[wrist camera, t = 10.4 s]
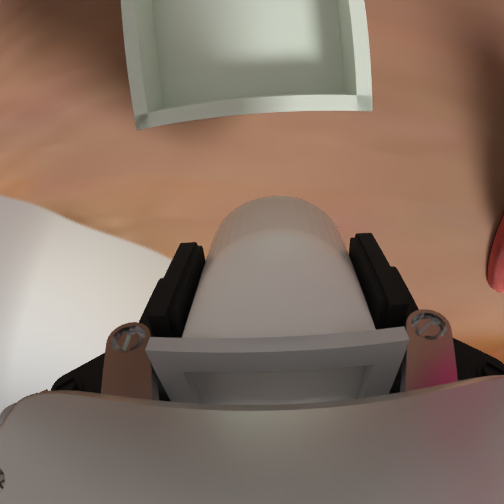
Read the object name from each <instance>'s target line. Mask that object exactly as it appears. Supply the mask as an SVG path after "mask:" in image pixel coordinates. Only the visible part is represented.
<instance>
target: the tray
mask: <svg viewBox="0 0 504 504" xmlns="http://www.w3.org/2000/svg"><path fill="white" fill-rule="evenodd" d="M121 11H122V24H123V35H124V45H125V54H126V63H127V71H128V79H129V86H130V93H131V100H132V106H133V113H134V119H135V125H136V130H140V129H145V128H150V127H155V126H161V125H167V124H173V123H179V122H185V121H192V120H199V119H207V118H215V117H223V116H233V115H243V114H255V113H269V112H287V111H323V110H340V111H372V83H371V64H370V50H369V39H368V29H367V19H366V11H365V3H364V0H121Z"/></svg>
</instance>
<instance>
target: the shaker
mask: <svg viewBox="0 0 504 504" xmlns="http://www.w3.org/2000/svg"><path fill="white" fill-rule="evenodd" d="M409 340H410V339H409V337H408V334H407V332H406V330H405V327H404V326H403V327H395V328H386V329H377V330H376V329H375V326H374V323H373V320H372V317H371V314H370V311H369V308H368V305H367V302H366V300H365V297H364V294H363V291H362V288H361V286H360V283H359V280H358V278H357V275H356V272H355V270H354V267H353V264H352V262H351V259H350V257H349V254H348V252H347V249H346V247H345V244H344V242H343V239H342V237H341V234H340V232H339V230H338V228H337V226H336V225H335V223H334V222H333V221H332V219H331V218H330V217H329V216H328V215H327V214H326V213H325V212H323V211H322V210H321V209H320V208H318V207H316V206H315V205H313V204H311V203H309V202H307V201H304V200H301V199H298V198H294V197H287V196H270V197H263V198H259V199H255V200H252V201H250V202H247V203H245V204H243V205H241V206H240V207H238V208H236V209H235V210H234V211H232V212H231V213H230V214H229V215H228V216H227V217H226V218H225V219H224V220H223V221H222V223H221V224H220V225H219V227H218V229H217V231H216V233H215V235H214V238H213V241H212V244H211V247H210V250H209V253H208V256H207V259H206V262H205V265H204V268H203V271H202V274H201V277H200V281H199V284H198V287H197V290H196V293H195V296H194V300H193V303H192V306H191V309H190V312H189V316H188V319H187V322H186V325H185V329H184V332H183V335H182V338H165V337H150V339H149V341H148V344H147V346H146V349H145V351H146V353H147V355H148V358H149V360H150V362H151V364H152V366H153V368H154V370H155V372H156V374H157V376H158V378H159V380H160V382H161V384H162V386H163V387H164V389H165V391H166V393H167V395H168V397H169V399H170V401H171V402H182V403H198V404H224V405H275V404H299V403H315V402H327V401H338V400H348V399H357V398H365V397H373V396H380V395H387V394H389V392H390V390H391V387H392V385H393V382H394V380H395V377H396V375H397V372H398V370H399V367H400V365H401V362H402V359H403V357H404V354H405V351H406V349H407V346H408V343H409Z"/></svg>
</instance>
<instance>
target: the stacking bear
mask: <svg viewBox="0 0 504 504" xmlns="http://www.w3.org/2000/svg"><path fill="white" fill-rule="evenodd" d="M488 284H489V285H490V287H491V288H492V289H494V290H496V291H498V292H500V293H503V292H504V215H503V218H502V220H501V222H500V225H499V227H498V230H497V233H496V236H495V239H494V242H493V245H492V249H491V253H490V258H489V264H488Z"/></svg>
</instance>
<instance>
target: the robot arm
mask: <svg viewBox="0 0 504 504" xmlns="http://www.w3.org/2000/svg"><path fill="white" fill-rule="evenodd" d="M349 257H350V259H351V262H352V264H353V267H354V270H355V272H356V275H357V278H358V280H359V283H360V286H361V288H362V291H363V294H364V297H365V300H366V302H367V305H368V308H369V311H370V314H371V317H372V320H373V323H374V326H375V329H376V330H377V329H386V328H395V327H403V326H404V327H405V330H406V332H407V334H408V337H409V339H410V340H409V343H408V346H407V349H406V351H405V354H404V357H403V359H402V362H401V365H400V367H399V370H398V372H397V375H396V377H395V380H394V382H393V385H392V387H391V390H390V392H389V394H387V395H380V396H373V397H365V398H357V399H348V400H338V401H327V402H315V403H299V404H275V405H224V404H198V403H182V402H171V401H170V399H169V397H168V395H167V393H166V391H165V389H164V387H163V386H162V384H161V382H160V380H159V378H158V376H157V374H156V372H155V370H154V368H153V366H152V364H151V362H150V360H149V358H148V355H147V353H146V351H145V349H146V346H147V344H148V341H149V339H150V337H165V338H182V335H183V332H184V329H185V325H186V322H187V319H188V316H189V312H190V309H191V306H192V303H193V300H194V296H195V293H196V290H197V287H198V284H199V281H200V277H201V274H202V271H203V268H204V265H205V257H204V252H203V248H202V246H198V245H197V243H196V242H191V243H181V244H180V245H179V247H178V249H177V251H176V253H175V255H174V258H173V260H172V262H171V264H170V266H169V268H168V270H167V272H166V274H165V276H164V278H161V279H160V280H159V281H158V283H157V285H156V287H155V289H154V291H153V293H152V295H151V297H150V300H149V302H148V304H147V306H146V308H145V310H144V313H143V314H142V317H141V319H140V321H139V323H137V322H133V323H127V324H124V325H121V326H119V327H118V328H116V329H115V330H114V331H113V332H112V333H111V334H110V336H109V337H108V339H107V343H106V350H105V353H104V354H102V355H100V356H98V357H96V358H95V359H93V360H91V361H89V362H88V363H85V364H83V365H82V366H80V367H78V368H76V369H74V370H72V371H71V372H69V373H67V374H65V375H63V376H62V377H60V378H59V379H58V380H57V381H56V382H55V383H54V385H53V387H52V388H51V391H48V390H47V389H46V390H44V391H42V392H40V393H35V394H32V395H29V396H26V397H24V398H22V399H21V400H19V401H18V402H17V403H14V404H12V405H10V406H8V407H7V408H5V409H4V410H3V412H2V413H1V415H0V504H504V364H503V363H502V362H501V361H499V360H498V359H496V358H494V357H492V356H490V355H488V354H486V353H483V352H481V351H479V350H477V349H475V348H473V347H471V346H469V345H467V344H465V343H463V342H461V341H459V340H456V339H454V338H453V337H452V331H451V326H450V324H449V322H448V320H447V319H446V318H445V317H444V316H443V315H441V314H440V313H438V312H435V311H432V310H427V309H426V310H419V309H418V307H417V305H416V303H415V301H414V299H413V297H412V296H411V294H410V292H409V290H408V288H407V286H406V284H405V282H404V281H403V279H402V277H401V275H400V273H399V272H398V270H397V268H396V267H394V266H393V267H390V265H389V263H388V261H387V259H386V258H385V256H384V254H383V252H382V250H381V249H380V247H379V245H378V243H377V242H376V240H375V238H374V236H373V235H372V233H359V234H356V235H355V238H351V239H350V248H349Z"/></svg>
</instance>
